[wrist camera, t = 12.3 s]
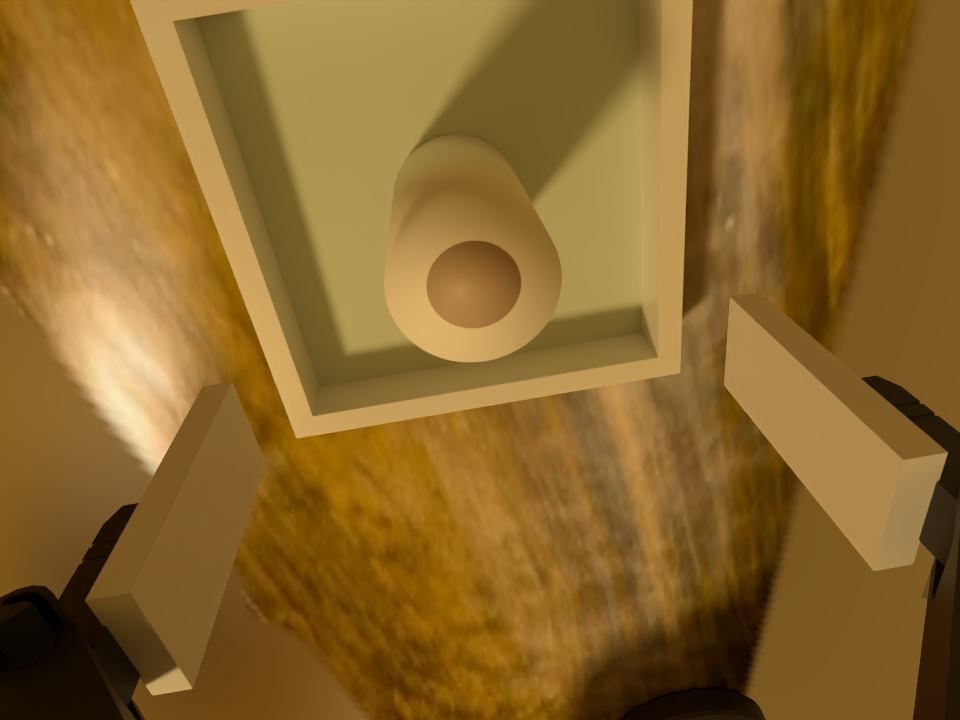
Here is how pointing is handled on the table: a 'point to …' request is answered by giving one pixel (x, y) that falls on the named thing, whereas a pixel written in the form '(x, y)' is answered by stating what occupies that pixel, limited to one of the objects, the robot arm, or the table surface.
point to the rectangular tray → (386, 145)
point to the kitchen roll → (467, 253)
